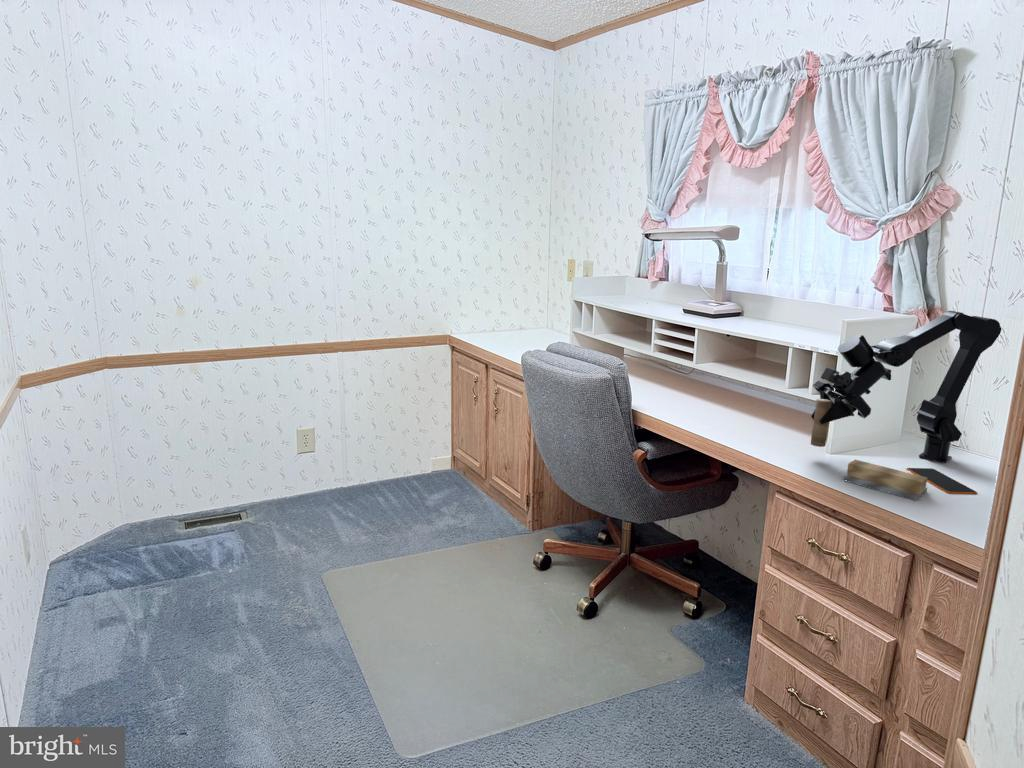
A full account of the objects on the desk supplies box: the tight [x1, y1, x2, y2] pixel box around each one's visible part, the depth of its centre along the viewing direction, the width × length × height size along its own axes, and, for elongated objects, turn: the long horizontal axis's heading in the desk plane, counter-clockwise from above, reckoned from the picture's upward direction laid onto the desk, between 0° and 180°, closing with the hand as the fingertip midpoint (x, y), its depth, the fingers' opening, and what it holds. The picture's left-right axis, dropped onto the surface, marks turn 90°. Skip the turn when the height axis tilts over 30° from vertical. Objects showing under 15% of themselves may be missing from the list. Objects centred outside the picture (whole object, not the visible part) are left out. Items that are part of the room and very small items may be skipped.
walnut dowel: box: [810, 398, 832, 448], centre depth 178 cm, size 4×4×12 cm
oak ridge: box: [842, 459, 928, 501], centre depth 162 cm, size 16×8×4 cm, turn 44°
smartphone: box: [905, 467, 979, 495], centre depth 167 cm, size 8×17×1 cm, turn 3°
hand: (816, 420), depth 178 cm, fingers closed on walnut dowel, 4 cm apart
